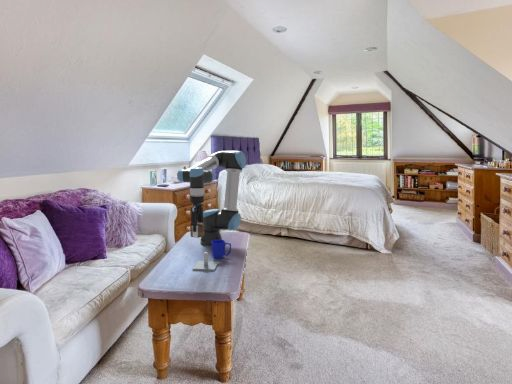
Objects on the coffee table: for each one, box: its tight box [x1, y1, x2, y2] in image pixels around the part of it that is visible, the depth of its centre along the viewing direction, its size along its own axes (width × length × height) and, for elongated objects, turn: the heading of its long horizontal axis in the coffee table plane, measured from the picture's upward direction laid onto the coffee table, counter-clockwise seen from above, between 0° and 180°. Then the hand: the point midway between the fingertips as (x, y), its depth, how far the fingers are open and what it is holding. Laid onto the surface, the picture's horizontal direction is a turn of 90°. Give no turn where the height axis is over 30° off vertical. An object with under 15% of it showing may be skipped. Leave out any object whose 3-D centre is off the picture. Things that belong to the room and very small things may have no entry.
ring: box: [189, 223, 204, 239], centre depth 185 cm, size 7×7×6 cm
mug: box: [211, 239, 232, 260], centre depth 197 cm, size 8×12×10 cm
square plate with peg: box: [192, 251, 220, 272], centre depth 182 cm, size 12×12×8 cm
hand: (197, 235), depth 185 cm, fingers closed on ring, 7 cm apart
